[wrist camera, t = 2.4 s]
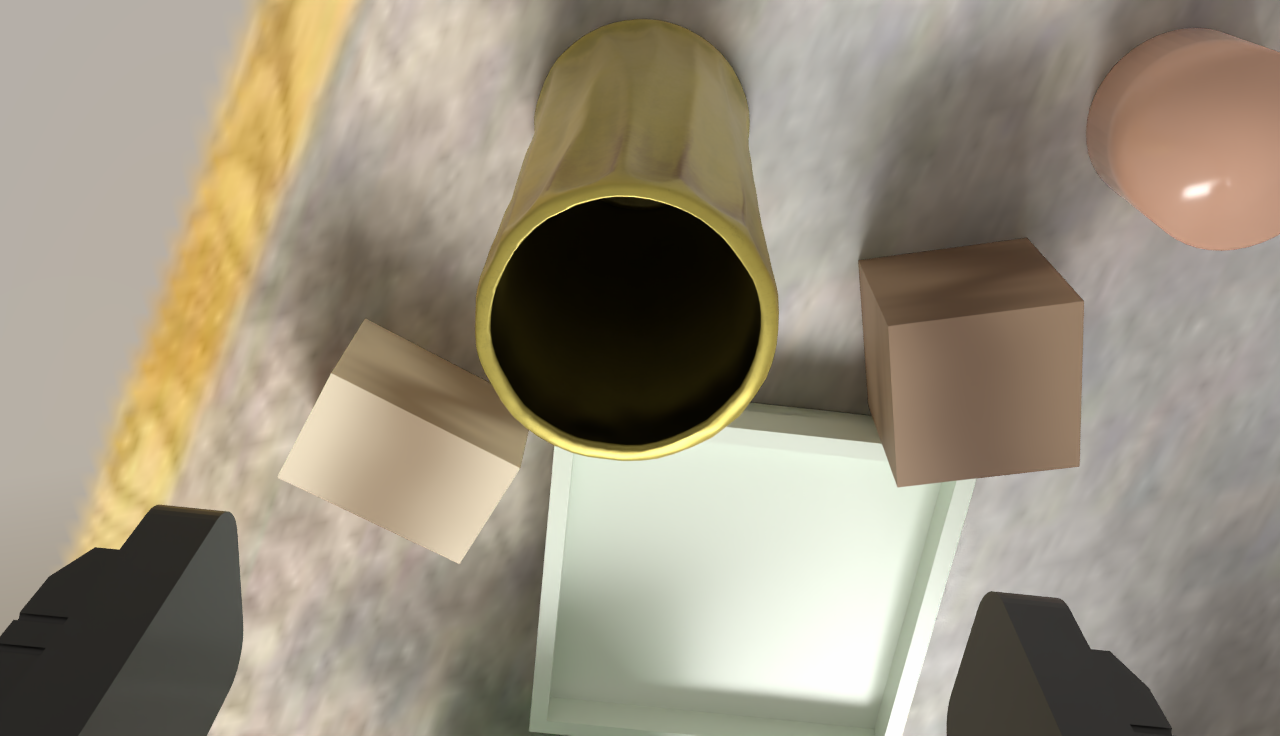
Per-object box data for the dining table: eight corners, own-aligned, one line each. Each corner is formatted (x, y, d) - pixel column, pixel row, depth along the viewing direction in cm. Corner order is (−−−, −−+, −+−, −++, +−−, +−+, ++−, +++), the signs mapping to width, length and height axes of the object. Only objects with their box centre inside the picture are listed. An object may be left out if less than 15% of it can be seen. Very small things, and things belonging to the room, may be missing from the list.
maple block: (534, 403, 35) (520, 468, 32) (479, 493, 37) (459, 563, 33) (366, 316, 34) (331, 373, 31) (316, 412, 36) (277, 477, 32)
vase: (524, 213, 32) (433, 460, 20) (548, 0, 30) (459, 125, 17) (727, 244, 33) (767, 507, 20) (767, 35, 30) (844, 184, 17)
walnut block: (1026, 237, 33) (1083, 301, 28) (1025, 384, 35) (1079, 466, 30) (857, 259, 33) (888, 326, 28) (867, 404, 35) (897, 487, 31)
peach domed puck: (1294, 38, 30) (1381, 66, 26) (1231, 212, 32) (1302, 260, 28) (1115, 17, 30) (1177, 42, 26) (1064, 193, 32) (1115, 239, 28)
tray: (969, 426, 35) (983, 454, 34) (883, 731, 41) (892, 767, 39) (562, 382, 35) (557, 408, 33) (534, 695, 41) (528, 731, 39)
